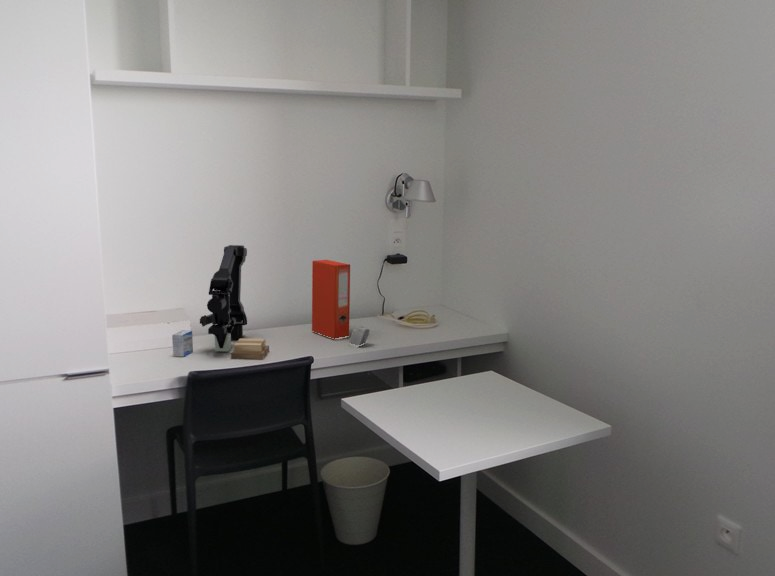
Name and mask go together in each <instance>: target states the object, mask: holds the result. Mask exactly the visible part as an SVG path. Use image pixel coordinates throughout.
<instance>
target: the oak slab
mask: <svg viewBox="0 0 775 576" xmlns="http://www.w3.org/2000/svg"><path fill="white" fill-rule="evenodd" d="M265 346H266V338H250V337H249V338H245V337H244V338H240V339H239V340H236V342H235V343H234V344H233V350H234V352H238V353H261V352H262V350H263V349H264V347H265Z"/></svg>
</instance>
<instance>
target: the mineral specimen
mask: <svg viewBox="0 0 775 576" xmlns="http://www.w3.org/2000/svg"><path fill="white" fill-rule="evenodd" d="M370 331H371V329H370V328H367V327H363V326H355V328H354V329H353V330H352V332H351V334H350V336H349V342H348V344H349V343H351V344H355V345H361V344H363V343H365V344H366V342H367V339H368V337H369V335H370V334H369V333H370Z"/></svg>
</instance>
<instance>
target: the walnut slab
mask: <svg viewBox="0 0 775 576" xmlns="http://www.w3.org/2000/svg"><path fill="white" fill-rule="evenodd" d="M269 352H270V345H265V347H264V349H263V350H262V352H261V353H238V352H234V349H233V350H232V351H231V352H230V360H246V361H247V360H254V361H255V360H257V361H264V358H265V357H266V356H267V355H268V354H269Z"/></svg>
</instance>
